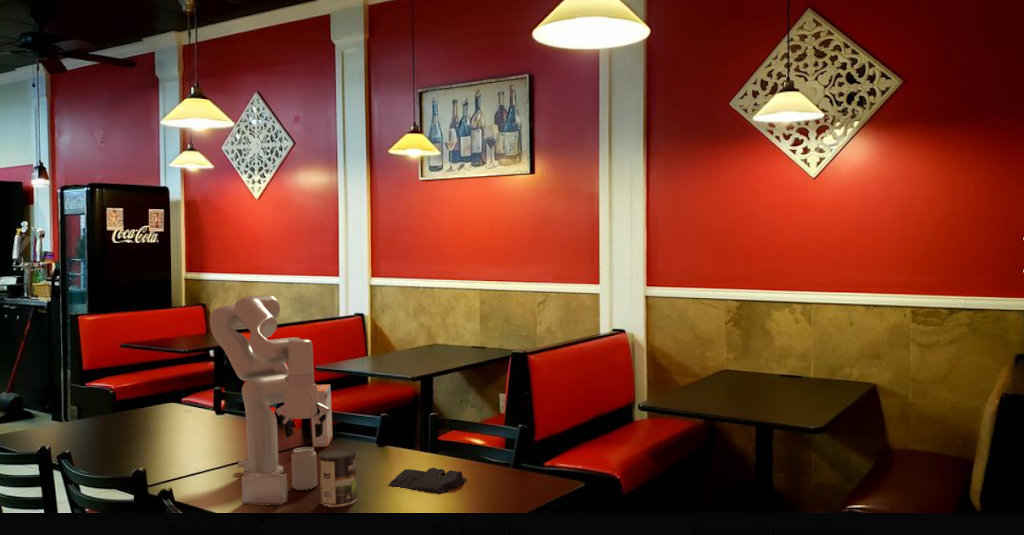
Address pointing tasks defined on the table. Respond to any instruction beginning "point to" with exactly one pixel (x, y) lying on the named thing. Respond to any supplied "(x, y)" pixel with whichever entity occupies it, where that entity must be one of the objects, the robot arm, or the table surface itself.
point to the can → (304, 468)
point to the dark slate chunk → (429, 480)
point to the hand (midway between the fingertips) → (304, 436)
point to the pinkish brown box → (264, 489)
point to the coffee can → (338, 477)
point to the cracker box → (327, 424)
